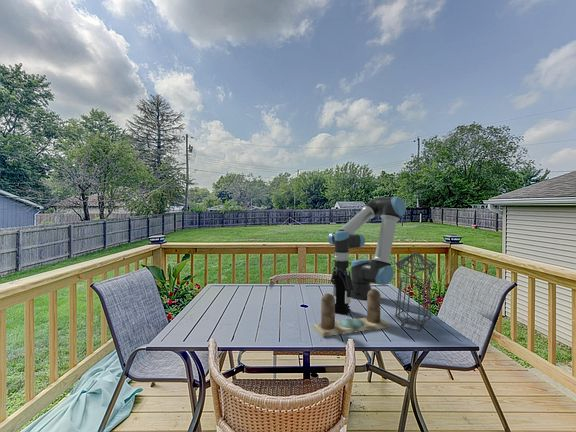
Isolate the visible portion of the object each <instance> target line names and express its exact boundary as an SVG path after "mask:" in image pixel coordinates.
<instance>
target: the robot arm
mask: <svg viewBox="0 0 576 432" xmlns="http://www.w3.org/2000/svg"><path fill="white" fill-rule="evenodd" d="M406 211H407V205H406V203H405V200H404V199H403V198H402V197H400V196H380V197H376V198H373V199H372V200H370V201H369V202H367V203H365V204H364V205H363V206H362V207H361V210H360V211H359V212H358V213H357V214H355V216H353V217H352V218H351V219H350V220H349V221H348V222H346V223H345V224H344V225H342V227H341V228H339V229H338V230H337V231H334V232H330V233H329V234H328V236H327V241H328V243H329V245H332V246H334V266H333V271H332V274H331V277H330V283H331V284H332V295H333V296H334V297H336V287H335V285H336V281H334V277H333V275H337V276H338V277H340V278H341V279H342V280H343V282H344V285H345V288H346V290H345V303H349V304H350V303H351V298H352V299H356V300H367V294H368V292H369V290H371V289H372V286H371V283H372V284H376V285H378V286H379V285H382V286H387V285H389V284H390V283H391V281H392V280H394V279H393V278H394V276H395V275H394V274H395V271H394V268H393V267H392V263H391V261H390V258H391V255H392V254H391V253H392V247H393V241H394V237H395V233H396V227H397V223H398V222H399V221H400V220H401V217H403V216H405V214H406ZM377 216H380V218H381V224H380V228H379V233H378V237H377V244H376V248H375V254H374V257H373V258H371V259H364V258H363V259H354V260H352V261H351V266H349V265H350V261H349V259H350V249H356V248H357V249H358V248H362V247H364V245H365V244H366V238H365V236H364V235H363V234H360V233H356V232H357V231H358V230H359V229H361V228H362V227H363V226H364V225H365V224H366V223H367V222H368V221H369V220H372V219H374V218H375V217H377ZM349 267H350V270H347V269H348V268H349ZM347 275H348V276H347ZM344 276H345V278H346V279H345V278H344Z"/></svg>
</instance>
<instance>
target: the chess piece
mask: <svg viewBox="0 0 576 432" xmlns="http://www.w3.org/2000/svg"><path fill="white" fill-rule="evenodd" d="M347 276H348V275H347ZM333 277H334V281H336V285H335V287H336V296H335V314H337V315H338V314H339V315H343V316H345V315H346V316H347V315H348V314H349V313H350V311H351V308H350V307H351V306H350V305H349V304H350V303H345V290H346V288H345V285H344V282H343V280H342V279H341V278H340V277H338V276H337V275H333ZM344 278H345V276H344ZM345 279H346V278H345Z"/></svg>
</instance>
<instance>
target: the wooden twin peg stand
mask: <svg viewBox="0 0 576 432" xmlns="http://www.w3.org/2000/svg"><path fill="white" fill-rule="evenodd" d="M335 303H336V297H335V296H333V294H331V293H325V294H323V295H322V297H321V303H320V304H321V311H320V312H321V314H320V315H321V318H320V319H321V321H320V322H321V323H313V325H312V327H313V330H314V331H315V332H316V333H317V332H318V333H319V334H318V333H317V334H318V335H320V337H322V338H326V337H325V336H329V337H333V336H332V335H336V336H339V335H338V334H342V335H344V334H343V333H349V332H355V331H363V330H369V331H373V330H372V329H376V330H383V329H389V328H390V323H389V322H388V321H386V320H385V319H382V317H381V293H380V291H379V290H377V289H375V288H371V290H369V292H368V294H367V299H366V303H367V304H366V316H365V317H361V318H344V319H342V320H337V321H336V313H335ZM382 328H383V329H382ZM363 332H364V331H363ZM349 334H350V333H349Z"/></svg>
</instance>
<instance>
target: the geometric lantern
mask: <svg viewBox="0 0 576 432" xmlns="http://www.w3.org/2000/svg"><path fill="white" fill-rule="evenodd" d="M412 259H413V260H412ZM415 259H416V261H417V262H415ZM419 261H420V262H419ZM427 261H428V262H427ZM405 262H407V263H406V264H405ZM429 262H430V263H429ZM409 264H410V265H411V266H410V265H409ZM415 264H417V266H416V265H415ZM394 265H396V267H398V269H399V271H398V272H399V273H398V274H399V277H398V278H399V285H398V293H397V300H396V308H395V314H394V316H395V317H396V318H397V320H398V321H400V322H401V325H400V327H401V328H403V329H407V330H408V329H409V330H413V331H417V332H419V331H421V330H422V329H423V327H424V325H425V324H426V323H427V322H428V321H430V320H431V319H432V305H431V278H432V275H433V272H434V270H435V269H436V266H437V264H436V263H435V262H434V261H432V260H430V259H429V258H427V257H425V256H423V255H422V254H421V253H420V252H419V253H418V252H416V251H415V252H412V253H411V254H409V255H407V256H405V257H404V258H402V259H400V260H399V261H396V262H394ZM420 265H421V266H423V267H419V266H420ZM407 268H409V269H411V271H407ZM413 269H414V271H413ZM401 270H403V272H404V274H403V277H402V275H401ZM425 270H428V274H427V275H426V272H425ZM421 271H423V273H424V275H425V279H423V278H417V276H416V273H418V272H421ZM407 274H410V276H408V275H407ZM428 276H429V278H428ZM404 279H405V280H404ZM408 279H409V281H408ZM412 279H414V280H416V282H412ZM419 280H421V281H423V282H422V283H420V282H419ZM403 283H404V284H405V285H404V292H403V293H404V295H403V301H401V300H402V287H403V286H402V285H403ZM408 283H409V286H408V299H407V310H405V301H406V294H407V293H406V292H407V284H408ZM412 284H415V285H418V308H417V309H418V312H415V311H411V310H410V299H411V298H410V297H411V296H410V295H411V285H412ZM425 285H427V286H426V287H427V288H426V289H425ZM421 286H422V291H423V292H422V294H423V295H422V297H423V298H422V299H423V300H422V302H423V305H422V306H423V307H422V308H423V313H421V309H420V307H421ZM425 291H426V299H425ZM425 300H426V302H425ZM401 302H403V303H402V309H401ZM425 303H426V304H425ZM425 305H426V307H425ZM428 307H429V308H428ZM428 310H429V311H428ZM405 312H406V314H405ZM428 312H429V315H428ZM409 313H411V314H415V315H417V318H418V319H416V318H410V317H408V314H409ZM400 314H403V316H404V317H401V315H400ZM420 315H421V316H423V319H422V320H421V318H420V317H421V316H420ZM426 317H427V319H426ZM405 324H406V325H408V326H409V325H410V326H413V327H417V329H414V328H411V327H410V328H409V327H408V326H407V327H405Z"/></svg>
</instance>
